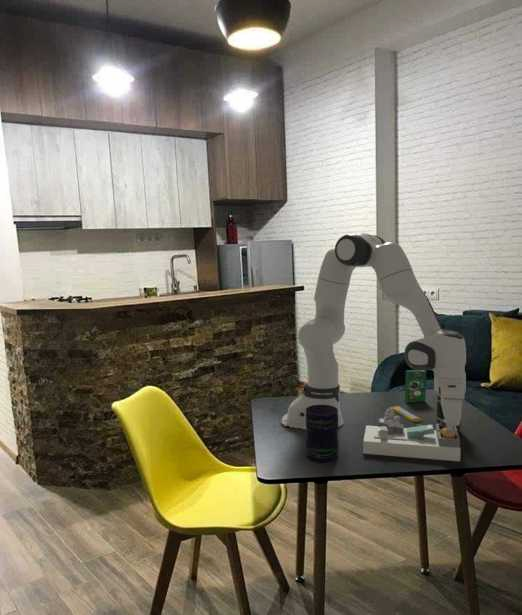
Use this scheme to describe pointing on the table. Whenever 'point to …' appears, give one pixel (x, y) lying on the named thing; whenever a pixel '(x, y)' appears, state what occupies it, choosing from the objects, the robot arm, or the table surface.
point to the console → (412, 444)
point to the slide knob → (383, 432)
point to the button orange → (448, 433)
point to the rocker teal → (414, 430)
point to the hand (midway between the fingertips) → (449, 429)
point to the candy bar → (406, 414)
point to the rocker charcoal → (396, 426)
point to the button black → (443, 424)
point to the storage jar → (322, 433)
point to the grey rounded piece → (391, 416)
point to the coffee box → (415, 386)
